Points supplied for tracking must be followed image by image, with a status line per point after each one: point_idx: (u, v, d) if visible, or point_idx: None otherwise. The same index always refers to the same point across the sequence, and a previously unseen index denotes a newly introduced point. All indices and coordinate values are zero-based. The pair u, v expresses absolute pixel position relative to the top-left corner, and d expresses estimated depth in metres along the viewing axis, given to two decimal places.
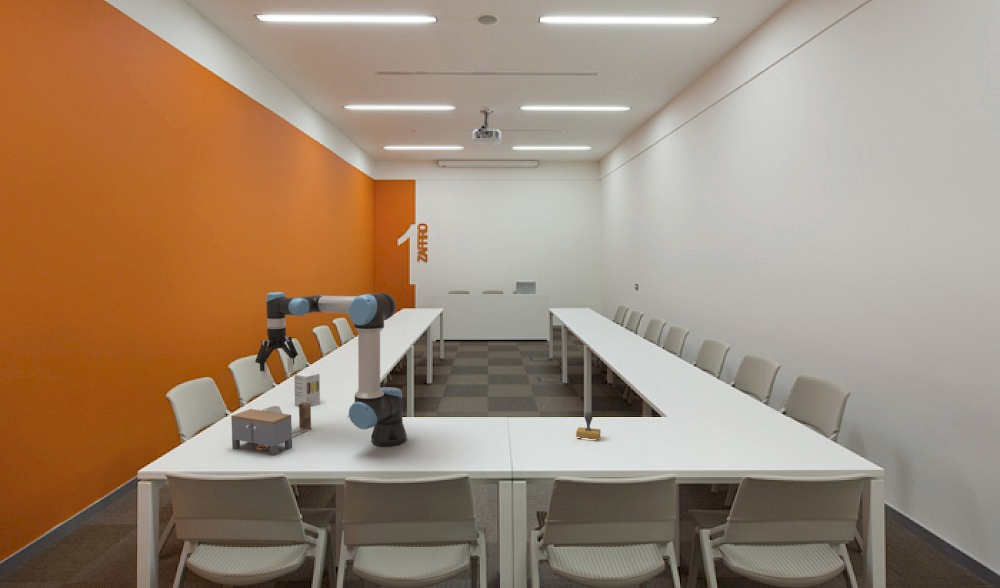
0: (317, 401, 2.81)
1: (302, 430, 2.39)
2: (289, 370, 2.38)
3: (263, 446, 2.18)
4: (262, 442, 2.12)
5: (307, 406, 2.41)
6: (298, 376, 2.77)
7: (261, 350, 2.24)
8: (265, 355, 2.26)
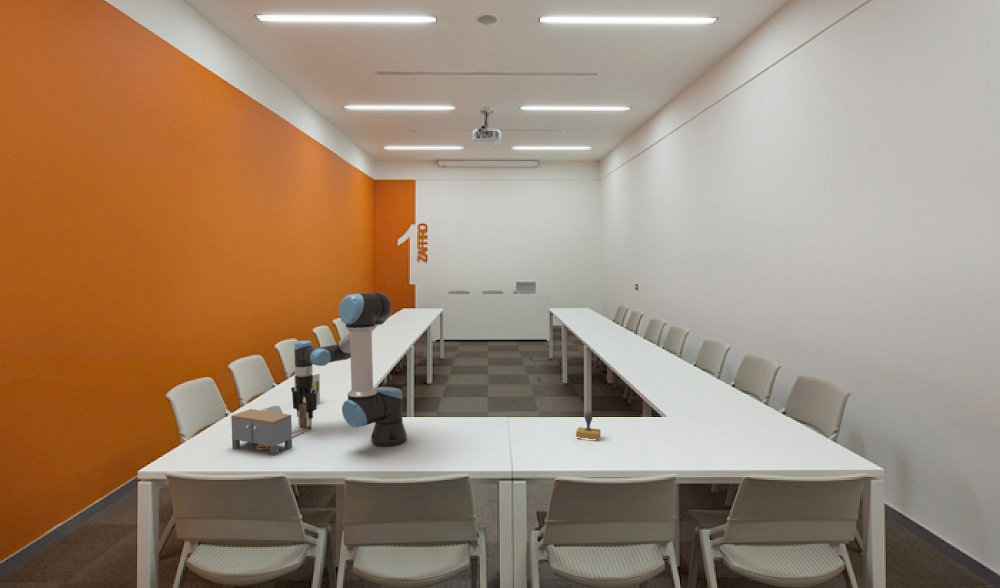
0: (317, 401, 2.81)
1: (302, 430, 2.39)
2: None
3: (263, 446, 2.18)
4: (262, 442, 2.12)
5: None
6: None
7: None
8: None
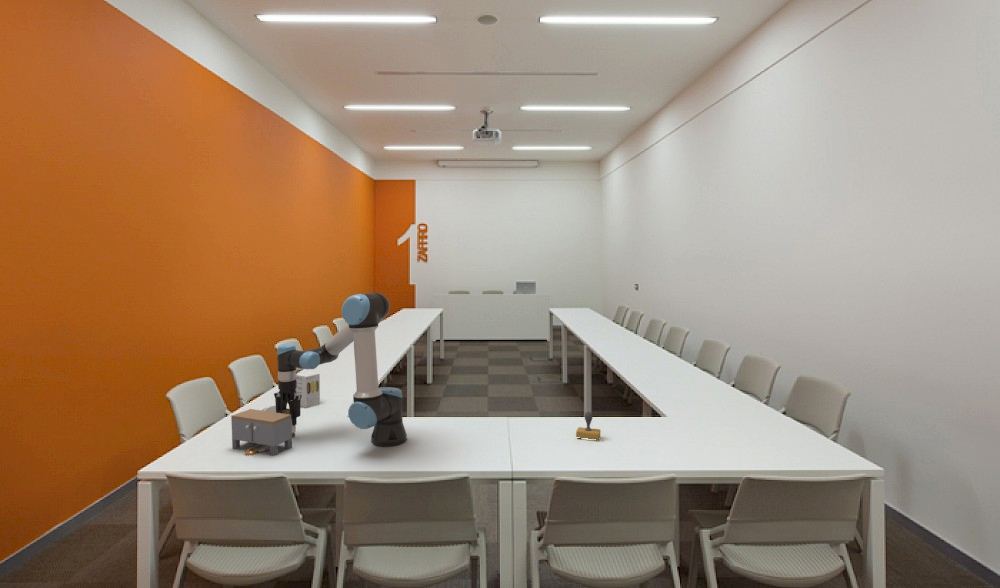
0: (317, 401, 2.81)
1: None
2: None
3: (252, 451, 2.13)
4: (262, 442, 2.12)
5: None
6: (298, 376, 2.77)
7: None
8: None
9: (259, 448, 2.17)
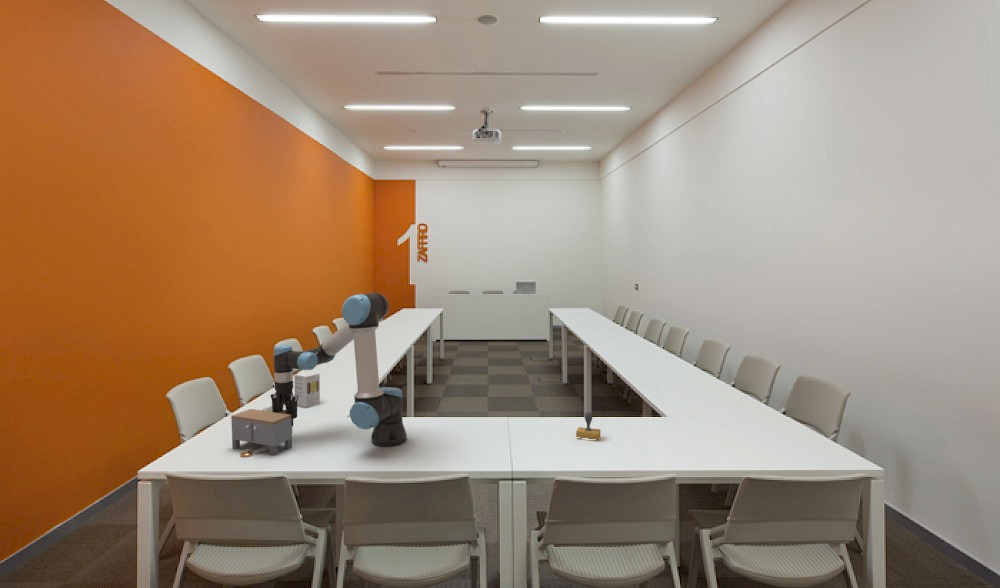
0: (317, 401, 2.81)
1: None
2: None
3: (247, 453, 2.11)
4: (262, 442, 2.12)
5: None
6: (298, 376, 2.77)
7: None
8: None
9: (255, 450, 2.15)
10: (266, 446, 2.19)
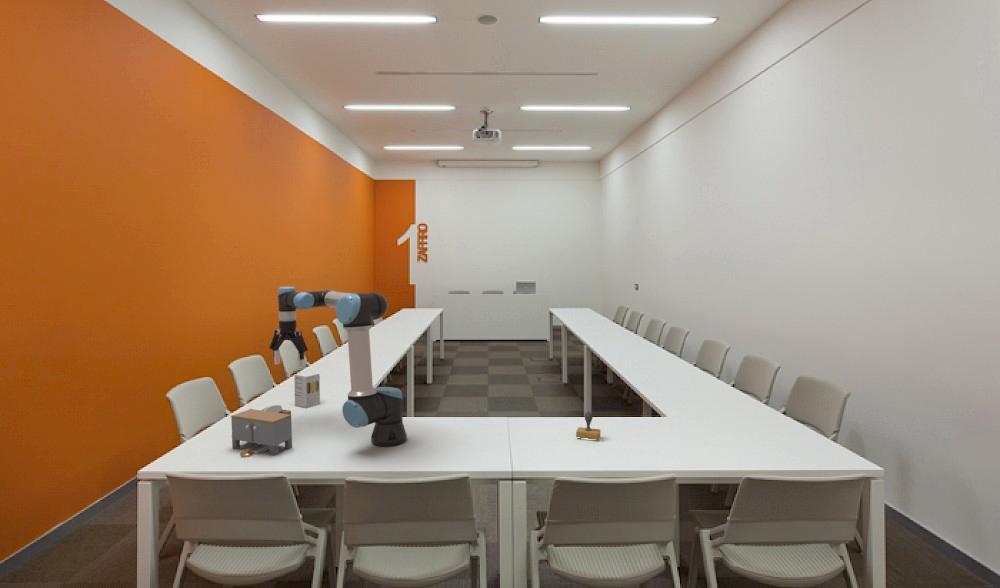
0: (317, 401, 2.81)
1: None
2: None
3: (247, 453, 2.11)
4: (262, 442, 2.12)
5: None
6: (298, 376, 2.77)
7: None
8: None
9: (255, 450, 2.15)
10: (266, 446, 2.19)
